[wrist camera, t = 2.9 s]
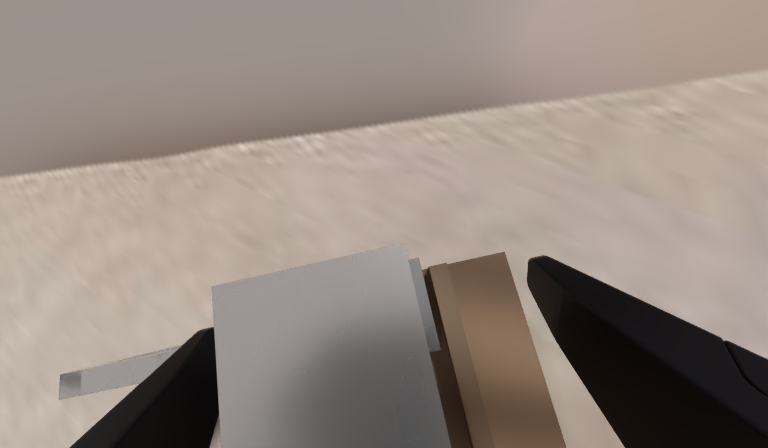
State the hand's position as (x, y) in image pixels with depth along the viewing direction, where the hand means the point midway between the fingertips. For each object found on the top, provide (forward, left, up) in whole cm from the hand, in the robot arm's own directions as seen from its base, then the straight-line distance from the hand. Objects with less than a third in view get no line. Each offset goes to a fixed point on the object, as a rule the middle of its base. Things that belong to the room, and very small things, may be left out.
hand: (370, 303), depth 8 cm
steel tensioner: (-1, +5, -6) cm, 8 cm away
